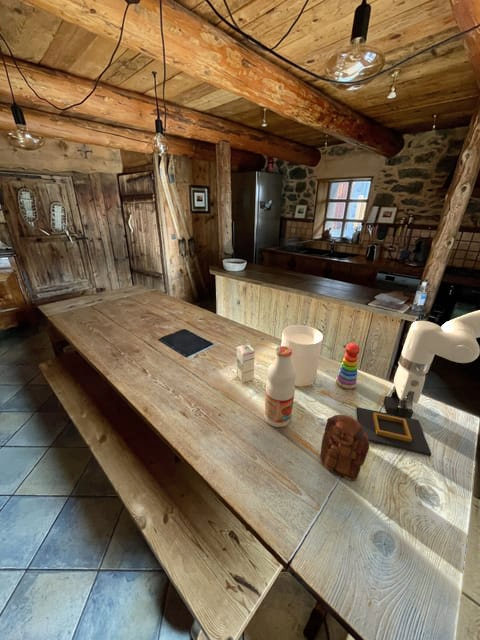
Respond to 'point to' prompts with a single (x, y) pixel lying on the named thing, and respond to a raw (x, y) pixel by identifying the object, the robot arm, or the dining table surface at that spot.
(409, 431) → the base pad
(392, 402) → the black pad
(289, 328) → the canister
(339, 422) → the wooden figurine
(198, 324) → the dining table surface
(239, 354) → the syrup box
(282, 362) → the fruit juice
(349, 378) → the stacking toy
